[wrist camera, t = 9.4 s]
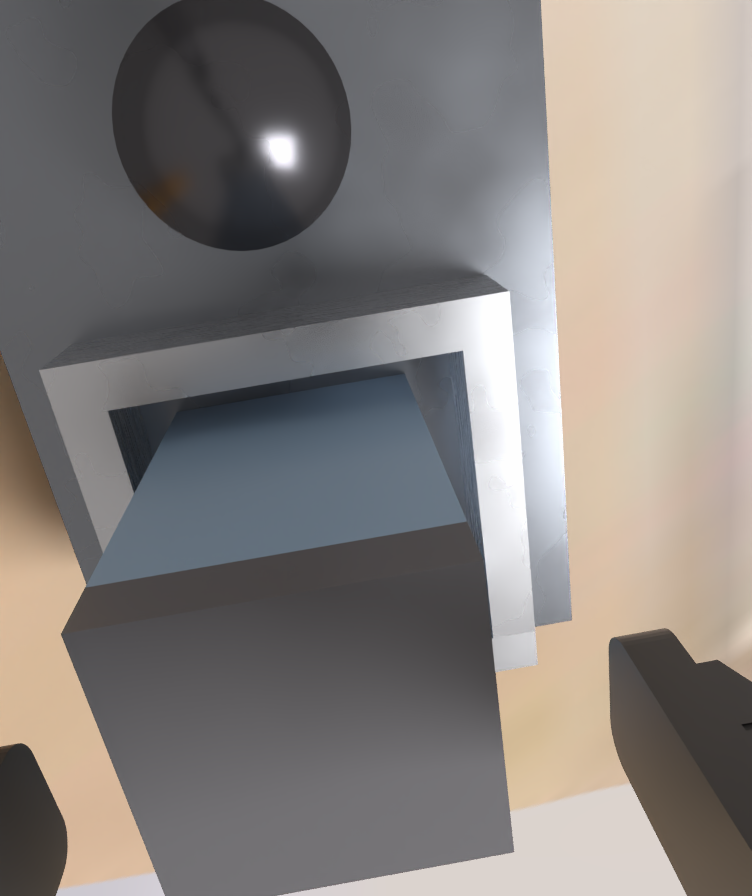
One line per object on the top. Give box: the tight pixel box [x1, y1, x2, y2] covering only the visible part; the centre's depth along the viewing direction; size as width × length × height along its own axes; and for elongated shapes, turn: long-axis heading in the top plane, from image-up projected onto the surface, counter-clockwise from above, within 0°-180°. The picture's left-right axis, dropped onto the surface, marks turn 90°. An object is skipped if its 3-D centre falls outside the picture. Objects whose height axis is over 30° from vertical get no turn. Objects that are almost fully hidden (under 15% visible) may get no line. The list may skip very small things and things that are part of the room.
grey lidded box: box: [61, 374, 514, 896], centre depth 13 cm, size 5×5×8 cm
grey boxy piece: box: [0, 0, 572, 672], centre depth 18 cm, size 16×12×9 cm
